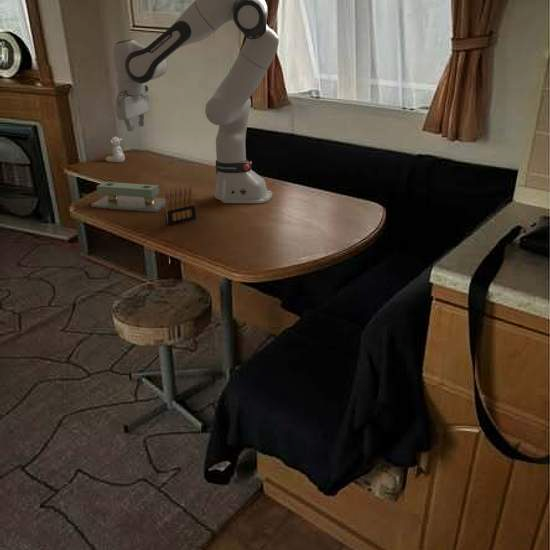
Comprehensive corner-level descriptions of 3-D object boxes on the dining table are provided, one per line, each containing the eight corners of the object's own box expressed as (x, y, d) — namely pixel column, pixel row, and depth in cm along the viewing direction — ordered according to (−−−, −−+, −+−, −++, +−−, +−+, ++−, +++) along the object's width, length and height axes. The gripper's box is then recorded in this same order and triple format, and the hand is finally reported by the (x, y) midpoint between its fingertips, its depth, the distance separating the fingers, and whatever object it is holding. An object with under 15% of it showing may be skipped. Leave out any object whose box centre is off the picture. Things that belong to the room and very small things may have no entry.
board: (159, 193, 201) (158, 185, 199) (152, 198, 196) (151, 189, 194) (106, 189, 206) (104, 181, 204) (97, 194, 200) (96, 186, 199)
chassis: (170, 202, 205) (168, 184, 202) (157, 212, 194) (154, 193, 191) (108, 197, 210) (105, 180, 207) (91, 207, 200) (88, 189, 197)
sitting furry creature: (123, 158, 269) (120, 133, 264) (131, 161, 263) (128, 136, 258) (105, 161, 264) (102, 136, 259) (113, 164, 258) (109, 138, 253)
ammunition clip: (168, 225, 182) (165, 191, 176) (166, 224, 183) (162, 190, 178) (196, 219, 187) (193, 185, 182) (193, 217, 189) (191, 184, 184)
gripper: (125, 92, 184) (131, 134, 190) (150, 85, 202) (155, 123, 208) (108, 92, 185) (115, 133, 191) (135, 86, 203) (140, 123, 209)
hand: (136, 128), depth 200 cm, fingers open, 8 cm apart
